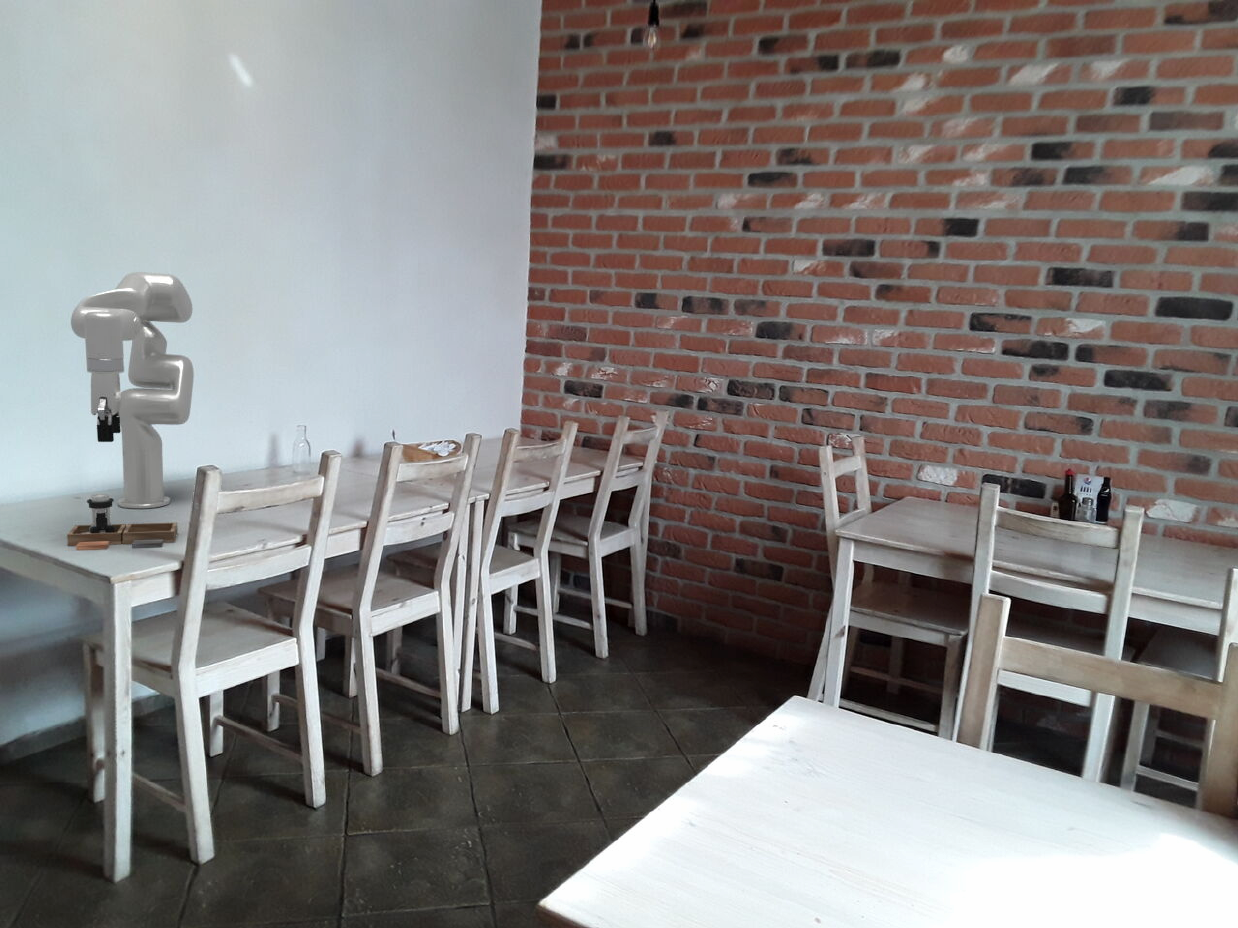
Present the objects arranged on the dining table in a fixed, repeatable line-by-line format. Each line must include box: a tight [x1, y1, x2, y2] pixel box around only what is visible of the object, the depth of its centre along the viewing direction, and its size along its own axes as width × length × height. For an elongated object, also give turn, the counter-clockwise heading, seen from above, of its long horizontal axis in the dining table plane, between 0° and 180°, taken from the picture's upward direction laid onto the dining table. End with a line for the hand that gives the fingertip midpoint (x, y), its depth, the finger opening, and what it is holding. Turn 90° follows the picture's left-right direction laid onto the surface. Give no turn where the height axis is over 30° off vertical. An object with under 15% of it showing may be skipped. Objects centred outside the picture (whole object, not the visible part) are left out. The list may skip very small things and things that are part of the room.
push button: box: [82, 493, 115, 534], centre depth 203 cm, size 7×5×10 cm
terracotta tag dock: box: [66, 523, 127, 551], centre depth 202 cm, size 12×11×3 cm
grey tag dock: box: [122, 522, 178, 549], centre depth 206 cm, size 12×11×3 cm
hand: (109, 437), depth 207 cm, fingers open, 9 cm apart
